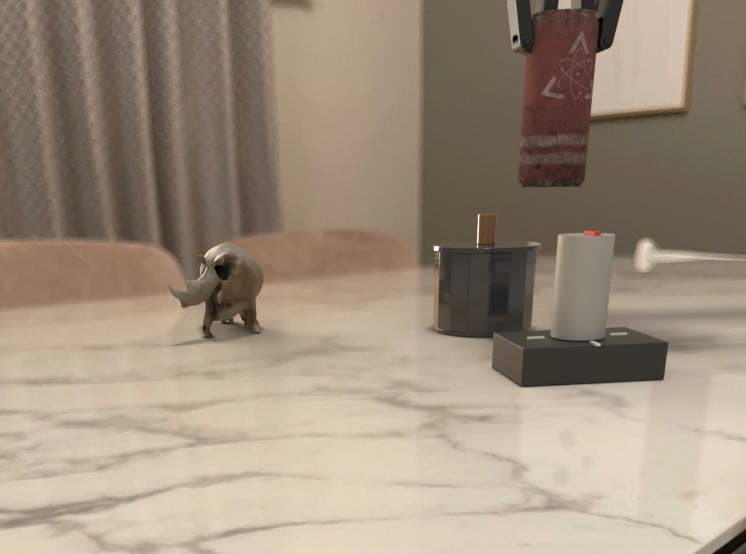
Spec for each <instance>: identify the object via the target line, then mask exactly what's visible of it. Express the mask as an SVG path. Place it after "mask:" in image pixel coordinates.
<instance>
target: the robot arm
mask: <svg viewBox="0 0 746 554" xmlns="http://www.w3.org/2000/svg"><path fill="white" fill-rule="evenodd" d="M624 1H625V0H599V3H598V8H597V11H596V17H597V19H598V22H599V30H598V41H597V51H596V48H595V51H594V54H595V52H596V55H597V54H599V53H601V52H604V51H606V50H609V49H611V47H612V46H613V44H614V40H615V36H616V34H617V33H616V32H617V28H618V24H619V20H620V17H621V13H622V9H623V5H624ZM559 3H560V0H535V9H534V14H535V13H538V12H542V11H547V10H555V9H559ZM506 5H507V6H506V7H507V16H508V24H509V25H508V27H509V36H510V44H511V50H512V52H513V53H515V54H521V55H523V56H525V57H526V55H528V54H532V46H533V43H534V38H533V27H532V8H531V0H506ZM595 7H596V0H570V9H589V10H594V11H595V10H596V9H595Z"/></svg>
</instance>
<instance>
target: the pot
mask: <svg viewBox="0 0 746 554" xmlns="http://www.w3.org/2000/svg"><path fill="white" fill-rule="evenodd" d="M537 256H538V250H535V251H527V252H512V253H451V252H439V251H434V282H433V283H434V285H433V330H434V331H435V332H436V333H438V334H443V335H447V336H454V337H455V336H456V337H463V338H464V337H466V338H493V335H494V332H516V331H532V326H533V318H534V302H535V287H536V275H537V274H536V273H537V259H538V258H537Z"/></svg>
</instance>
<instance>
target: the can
mask: <svg viewBox="0 0 746 554" xmlns="http://www.w3.org/2000/svg"><path fill="white" fill-rule="evenodd" d="M596 15H597V11H595V10H589V9H571V8H558V9H555V10H547V11H542V12H538V13H535V12H534V13H533V14H531V17H532V27H533V38H534V43H533V46H532V54H528V55H526V56H525V58H524V59H525V60H524V73H523V74H524V75H523V90H522V91H523V92H522V103H521V105H522V107H521V121H520V123H521V124H520V137H519V153H518V169H517V183H518V184H519V187H520V188H578V187H581V186H582V185H583V183H584V181H585V180H586V179H585V178H586V168H587V159H588V158H587V157H588V147H589V136H590V128H591V127H590V124H591V117H592V115H591V114H592V104H593V102H592V101H593V93H594V83H595V72H596V62H597V54H596V52H595V54H594V51H595V48H596V51H597V41H598V30H599V22H598V19H597V17H596Z"/></svg>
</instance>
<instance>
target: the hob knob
mask: <svg viewBox="0 0 746 554" xmlns="http://www.w3.org/2000/svg"><path fill="white" fill-rule="evenodd" d="M615 242H616V234H615V233H609V232H602V231H598V230H583V232H571V233H570V232H568V233H560V234H558V235H557V243H556V256H555V257H556V258H555V270H554V271H555V272H554V282H553V283H554V285H553V286H554V287H553V294H552V295H553V296H552V311H551V323H550V330H551V337H553V338H556V339H561V340H570V341H592V340H599V339H603V338H605V333H606V328H607V323H608V322H607V321H608V311H609V302H610V292H611V283H612V271H613V263H614V262H613V261H614V252H615Z"/></svg>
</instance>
